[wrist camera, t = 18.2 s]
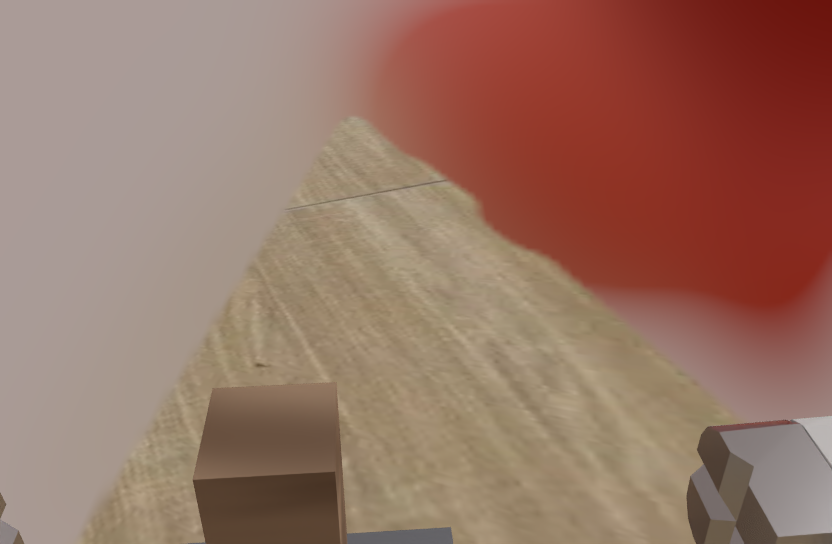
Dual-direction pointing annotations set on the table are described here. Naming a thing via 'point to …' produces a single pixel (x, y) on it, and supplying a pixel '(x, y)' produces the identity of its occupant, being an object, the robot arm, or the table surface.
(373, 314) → the table surface
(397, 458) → the table surface
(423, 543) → the grey socket base
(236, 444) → the brown rectangular bar
